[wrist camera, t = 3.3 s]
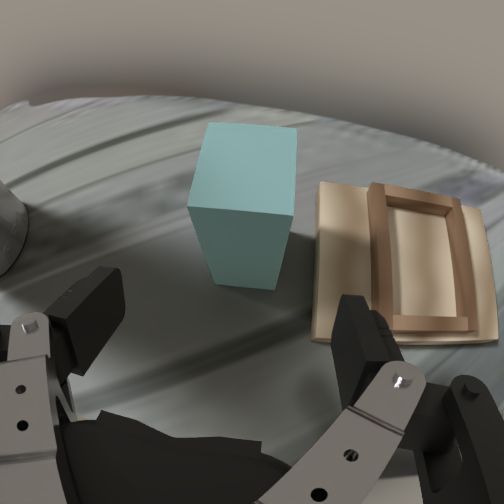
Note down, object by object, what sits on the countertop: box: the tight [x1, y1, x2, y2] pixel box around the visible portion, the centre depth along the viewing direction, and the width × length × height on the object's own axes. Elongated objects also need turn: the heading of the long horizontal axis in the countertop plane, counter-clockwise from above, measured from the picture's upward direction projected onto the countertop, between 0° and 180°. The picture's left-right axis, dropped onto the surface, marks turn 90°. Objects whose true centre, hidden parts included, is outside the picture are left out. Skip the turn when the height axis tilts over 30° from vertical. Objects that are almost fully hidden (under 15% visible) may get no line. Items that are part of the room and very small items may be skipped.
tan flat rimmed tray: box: [310, 181, 498, 345], centre depth 22 cm, size 16×12×4 cm
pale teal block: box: [187, 122, 297, 290], centre depth 19 cm, size 4×5×11 cm
